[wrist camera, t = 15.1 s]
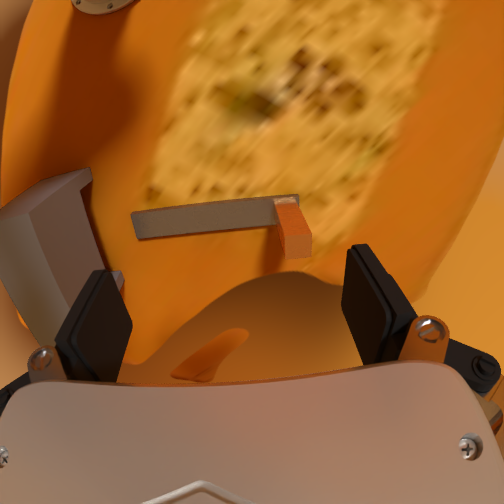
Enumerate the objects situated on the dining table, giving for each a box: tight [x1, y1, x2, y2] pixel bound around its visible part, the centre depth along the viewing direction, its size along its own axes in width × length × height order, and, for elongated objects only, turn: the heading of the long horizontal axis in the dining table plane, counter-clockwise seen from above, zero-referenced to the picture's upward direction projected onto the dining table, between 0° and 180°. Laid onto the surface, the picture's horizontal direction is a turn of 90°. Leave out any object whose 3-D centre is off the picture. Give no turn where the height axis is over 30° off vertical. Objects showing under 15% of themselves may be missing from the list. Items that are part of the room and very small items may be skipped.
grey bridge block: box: [0, 167, 124, 347], centre depth 36 cm, size 20×10×16 cm, turn 5°
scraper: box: [131, 194, 312, 259], centre depth 38 cm, size 24×4×11 cm, turn 95°
